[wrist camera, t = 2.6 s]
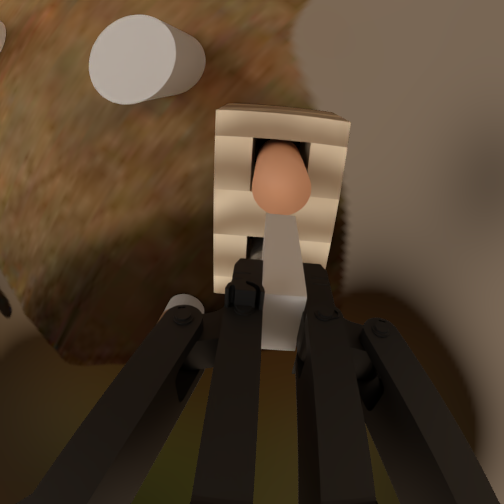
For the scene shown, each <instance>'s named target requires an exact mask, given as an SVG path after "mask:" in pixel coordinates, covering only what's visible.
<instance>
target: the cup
mask: <svg viewBox="0 0 504 504" xmlns="http://www.w3.org/2000/svg"><path fill="white" fill-rule="evenodd" d="M205 62H206V59H205V53H204V50H203V48H202V46H201V44H200V43H199V42H198V41H197V40H196V39H195V38H194V37H192V36H191V35H189V34H187V33H185V32H183V31H181V30H179V29H177V28H175V27H173V26H171V25H169V24H167V23H165V22H163V21H160V20H158V19H156V18H154V17H151V16H147V15H130V16H126V17H123V18H121V19H119V20H117V21H115V22H113V23H112V24H110V25H109V26H108V27H107V28H106V29H105V30H104V31H103V32H102V33H101V34H100V35H99V37H98V38H97V40H96V41H95V43H94V45H93V48H92V50H91V54H90V58H89V73H90V78H91V81H92V83H93V85H94V87H95V88H96V90H97V91H98V92H99V93H100V94H101V95H102V96H103V97H104V98H106V99H107V100H109V101H111V102H114V103H118V104H135V103H139V102H143V101H148V100H152V99H157V98H162V97H167V96H172V95H178V94H181V93H184V92H186V91H188V90H189V89H191V88H192V87H193V86H194V85H195V84H196V83H197V82H198V81H199V79H200V78H201V76H202V74H203V72H204V69H205Z"/></svg>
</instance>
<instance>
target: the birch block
mask: <svg viewBox="0 0 504 504" xmlns="http://www.w3.org/2000/svg"><path fill="white" fill-rule="evenodd" d="M350 125H351V122H349V121H347V120H345V119H344V118H342V117H340V116H338V115H336V114H334V113H332V112H326V111H318V110H310V109H302V108H292V107H282V106H270V105H257V104H238V103H228V104H226V105H224V106H222V107H220V108H219V109H217V110H216V123H215V158H214V293H224V294H225V287H226V286H227V284H228V283H230V282H231V281H232V276H233V270H234V265H235V263H236V262H237V261H238V260H239V259H240V258H245V259H249V258H250V250H251V242H252V239H250V236H252V237H264V230H265V220H266V213H268V212H266V211H264V210H263V209H262V208H260V207H259V205H258V204H257V203H256V201H255V199H254V197H253V194H252V182H253V177H254V171H255V166H254V164H255V148H256V138H266V139H279V140H289V141H299V142H300V150H299V152H300V155H301V157H302V160H303V163H304V165H305V168H306V170H307V173H308V176H309V178H310V182H311V194H310V197H309V200H308V202H307V203H306V205H305V206H304V207H303V208H302V209H300V210H299V211H297V212H296V213H293V214H291V216H295V217H296V223H297V230H298V236H299V243H300V249H301V256H302V263H313V264H321V265H322V267H323V268H324V269H325V268H326V264H327V259H328V254H329V249H330V244H331V240H332V235H333V229H334V224H335V219H336V214H337V208H338V203H339V197H340V191H341V185H342V179H343V173H344V167H345V160H346V154H347V147H348V140H349V133H350ZM269 214H270V213H269Z"/></svg>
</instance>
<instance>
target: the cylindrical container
mask: <svg viewBox="0 0 504 504" xmlns="http://www.w3.org/2000/svg"><path fill="white" fill-rule="evenodd" d="M5 38H6V28H5V25H4V23H3V22H1V21H0V52H1V50H2V48H3V45H4V42H5Z"/></svg>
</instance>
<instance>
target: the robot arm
mask: <svg viewBox="0 0 504 504" xmlns="http://www.w3.org/2000/svg"><path fill="white" fill-rule="evenodd" d="M296 344H297V355H296V360H295V363H294V367H293V371H292V374H295V373H296V399H297V430H298V431H297V432H298V504H378V503H377V501H376V497H375V490H374V481H373V473H372V466H371V459H370V452H369V446H368V439H367V433H366V427H365V424H366V426H367V428H368V430H369V432H370V435H371V437H372V439H373V441H374V444H375V446H376V448H377V450H378V452H379V455H380V457H381V460H382V462H383V464H384V466H385V469H386V471H387V473H388V476H389V478H390V480H391V483H392V485H393V487H394V490H395V492H396V494H397V497H398V499H399V501H400V503H401V504H500V503H499V501H498V499H497V497H496V495H495V493H494V491H493V489H492V487H491V485H490V483H489V481H488V479H487V477H486V475H485V473H484V471H483V469H482V467H481V466H480V464H479V462H478V460H477V458H476V456H475V454H474V453H473V451H472V449H471V447H470V445H469V443H468V442H467V440H466V439H465V436H464V435H463V433H462V431H461V429H460V428H459V426H458V424H457V423H456V421H455V419H454V417H453V416H452V414H451V412H450V411H449V409H448V407H447V406H446V404H445V403H444V401H443V399H442V398H441V396H440V394H439V393H438V391H437V389H436V388H435V386H434V385H433V384H432V382H431V380H430V378H429V377H428V375H427V374H426V372H425V371H424V369H423V367H422V366H421V365H420V363H419V362H418V360H417V358H416V357H415V355H414V354H413V353H412V351H411V349H410V348H409V346H408V345H407V343H406V342H405V340H404V339H403V337H402V336H401V335H400V333H399V332H398V330H397V329H396V327H395V326H394V325H393V324H392V323H390V322H389V321H387V320H385V319H381V318H371V319H368V320H367V321H366V322H365V323H364V325H360V324H356V323H353V322H350V321H348V320H346V319H344V318H343V315H342V313H341V311H340V310H339V309H338V308H336V307H335V305H334V300H333V296H332V292H331V287H330V283H329V280H328V275H327V271H326V270H325V269H324V268H323V267H322V265H321V264H313V263H302V256H301V249H300V243H299V236H298V230H297V223H296V217H295V216H291V215H280V214H269V213H266V220H265V230H264V241H263V251H262V260H256V259H245V258H240V259H239V260H238V261H237V262H236V263H235V265H234V270H233V276H232V281H231V282H230V283H228V284H227V286H226V287H225V306H224V307H223V308H222V309H220V310H218V311H215V312H211V313H204V314H202V312H201V311H200V310H199V309H198V308H196V307H194V306H192V305H185V304H184V305H177V306H174V307H172V308H170V309H169V310H168V311H167V312H166V313H165V314H164V315H163V316H162V318H161V319H160V320H159V322H158V323H157V324H156V325H155V327H154V328H153V329H152V331H151V332H150V333H149V334H148V336H147V337H146V338H145V340H144V341H143V342H142V344H141V345H140V346H139V347H138V349H137V350H136V351H135V353H134V354H133V355H132V357H131V358H130V359H129V361H128V362H127V363H126V365H125V366H124V367H123V368H122V370H121V371H120V373H119V374H118V375H117V377H116V378H115V379H114V381H113V382H112V383H111V385H110V386H109V387H108V388H107V390H106V391H105V392H104V394H103V395H102V397H101V398H100V399H99V401H98V402H97V403H96V405H95V406H94V408H93V409H92V410H91V411H90V413H89V414H88V416H87V417H86V418H85V420H84V421H83V422H82V424H81V426H80V427H79V428H78V429H77V431H76V432H75V433H74V435H73V436H72V438H71V439H70V441H69V442H68V443H67V445H66V446H65V447H64V449H63V450H62V452H61V453H60V455H59V456H58V457H57V459H56V460H55V462H54V463H53V465H52V466H51V467H50V469H49V470H48V472H47V473H46V475H45V476H44V478H43V479H42V481H41V482H40V483H39V485H38V486H37V488H36V489H35V491H34V492H33V493H32V494H31V495H29V496H28V497H26V498H24V499H23V500H21V501H20V502H18V503H16V504H131V502H132V501H133V499H134V497H135V495H136V494H137V492H138V490H139V488H140V486H141V485H142V483H143V481H144V479H145V478H146V476H147V474H148V472H149V470H150V469H151V467H152V465H153V463H154V461H155V460H156V458H157V456H158V454H159V452H160V451H161V449H162V447H163V445H164V443H165V442H166V440H167V438H168V436H169V434H170V433H171V431H172V429H173V427H174V425H175V424H176V421H177V420H178V418H179V416H180V414H181V413H182V411H183V409H184V407H185V405H186V404H187V402H188V400H189V398H190V396H191V394H192V392H193V391H194V389H195V387H196V385H197V383H198V382H199V380H200V378H201V376H202V374H203V372H204V370H205V368H211V367H214V368H213V374H212V380H211V385H210V391H209V396H208V402H207V408H206V414H205V419H204V425H203V431H202V437H201V443H200V449H199V456H198V461H197V467H196V473H195V480H194V486H193V492H192V498H191V502H190V504H253V492H254V476H255V459H256V441H257V422H258V403H259V384H260V363H261V349H271V350H286V351H295V348H296Z"/></svg>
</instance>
